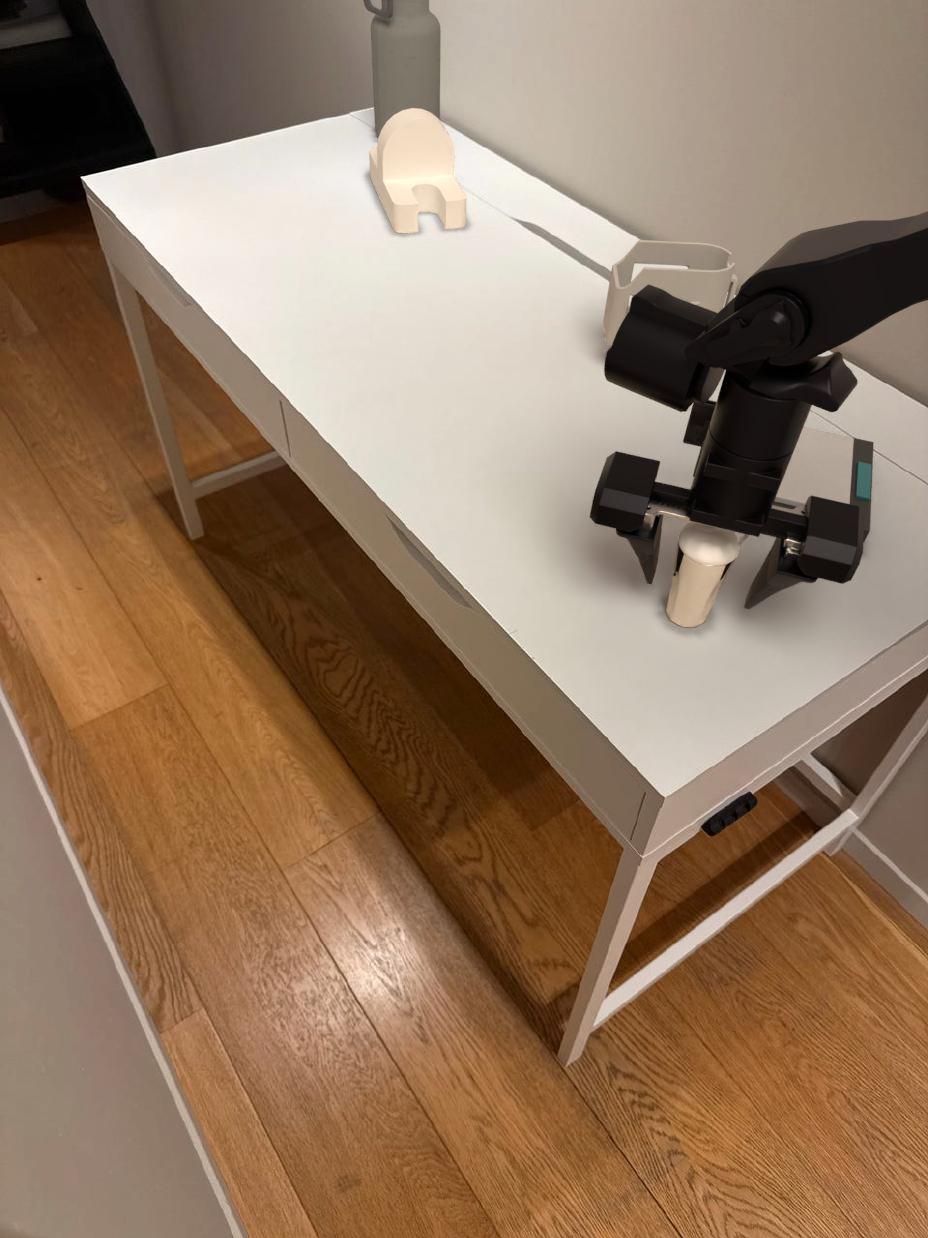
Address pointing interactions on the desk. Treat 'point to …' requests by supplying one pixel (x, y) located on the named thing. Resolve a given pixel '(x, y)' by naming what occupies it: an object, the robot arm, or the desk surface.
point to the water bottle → (404, 58)
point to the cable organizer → (670, 277)
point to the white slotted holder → (416, 171)
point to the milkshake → (700, 571)
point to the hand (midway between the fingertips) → (698, 592)
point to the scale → (829, 472)
